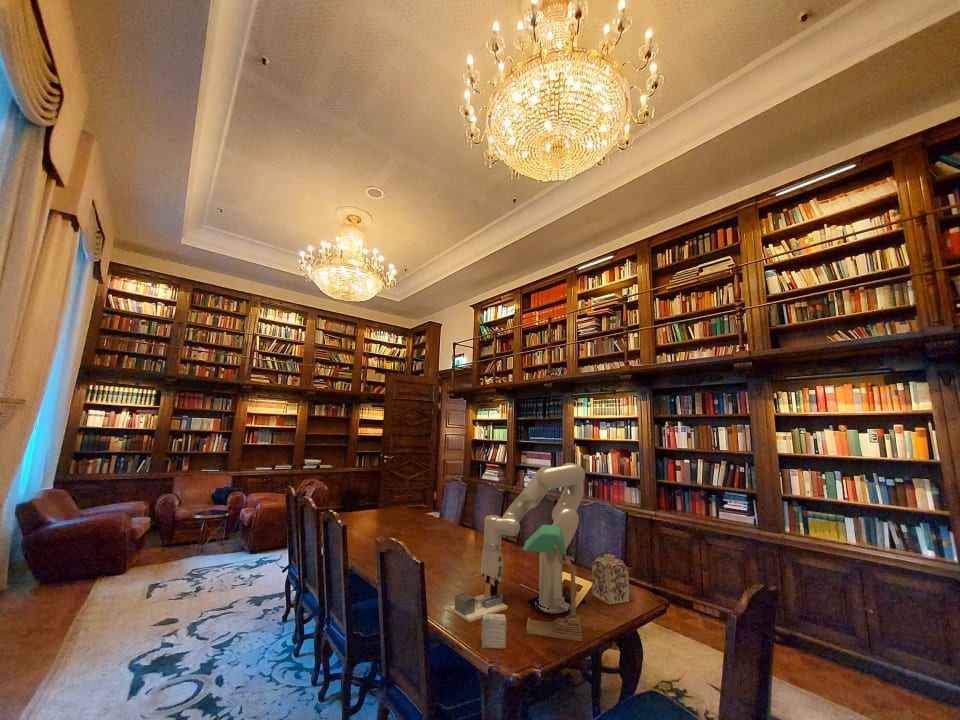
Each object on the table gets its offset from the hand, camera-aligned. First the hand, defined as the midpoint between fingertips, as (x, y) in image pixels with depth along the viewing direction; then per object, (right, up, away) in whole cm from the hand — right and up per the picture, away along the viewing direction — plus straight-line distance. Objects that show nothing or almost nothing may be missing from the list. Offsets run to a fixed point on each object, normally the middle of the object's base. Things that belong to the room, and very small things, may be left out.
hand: (490, 593), depth 157 cm
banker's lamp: (+22, -1, -21) cm, 30 cm away
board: (-5, -3, -5) cm, 8 cm away
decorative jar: (+54, -9, +11) cm, 56 cm away
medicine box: (0, +2, -32) cm, 32 cm away
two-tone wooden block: (-2, -3, -3) cm, 5 cm away
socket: (-11, -1, -9) cm, 14 cm away
